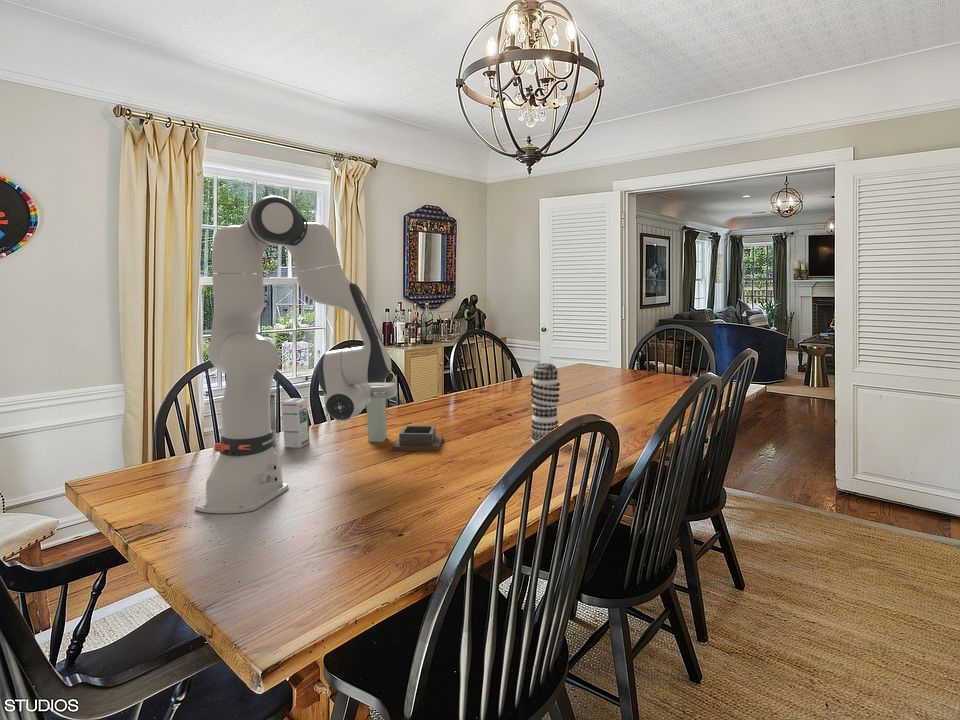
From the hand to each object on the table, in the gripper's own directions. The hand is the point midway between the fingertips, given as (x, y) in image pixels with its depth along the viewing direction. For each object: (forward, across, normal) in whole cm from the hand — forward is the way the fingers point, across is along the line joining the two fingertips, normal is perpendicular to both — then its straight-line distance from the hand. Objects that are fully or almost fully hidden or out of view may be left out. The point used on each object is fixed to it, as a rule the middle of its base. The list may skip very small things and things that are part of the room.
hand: (366, 385), depth 171 cm
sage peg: (+12, 0, +20) cm, 23 cm away
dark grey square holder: (+7, -14, +20) cm, 26 cm away
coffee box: (+5, +36, +20) cm, 41 cm away
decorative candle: (+10, -54, +21) cm, 59 cm away
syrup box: (+5, +24, +20) cm, 32 cm away
